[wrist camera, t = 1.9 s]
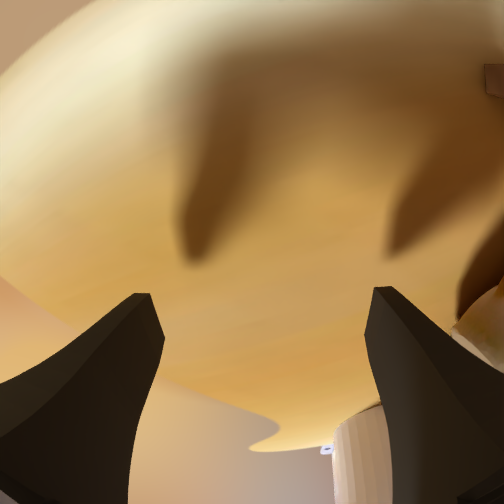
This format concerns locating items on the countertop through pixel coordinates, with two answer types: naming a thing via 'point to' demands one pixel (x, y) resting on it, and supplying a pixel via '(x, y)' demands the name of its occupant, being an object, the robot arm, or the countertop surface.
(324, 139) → the countertop surface
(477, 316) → the mug
